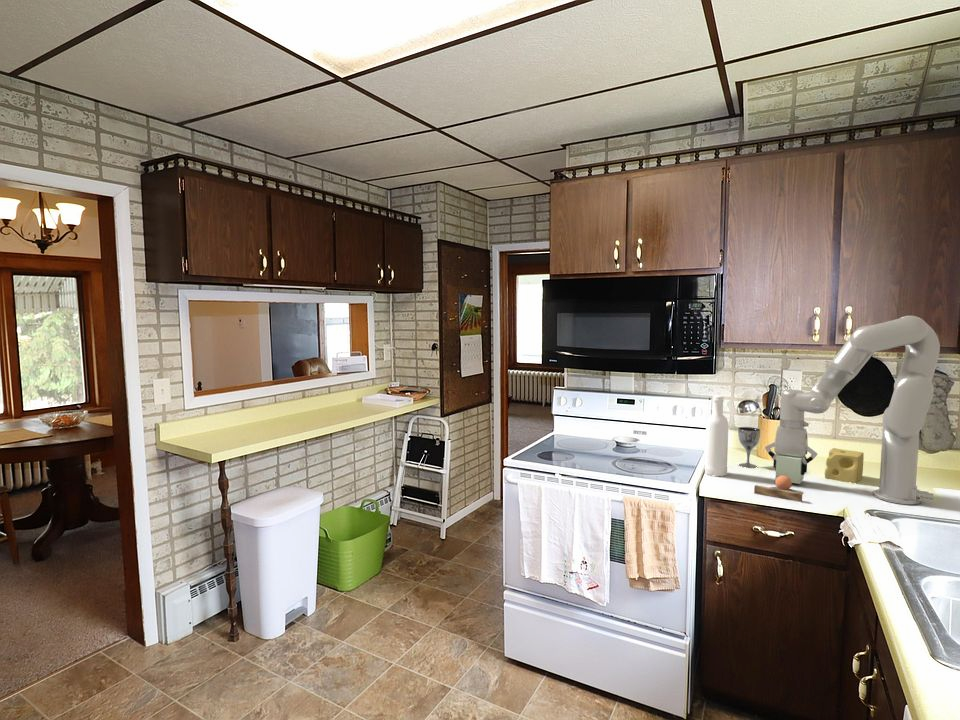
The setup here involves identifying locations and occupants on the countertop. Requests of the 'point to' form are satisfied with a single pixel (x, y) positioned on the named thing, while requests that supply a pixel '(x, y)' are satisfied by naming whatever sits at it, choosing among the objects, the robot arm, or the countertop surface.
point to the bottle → (716, 440)
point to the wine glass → (748, 442)
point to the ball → (783, 482)
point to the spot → (787, 490)
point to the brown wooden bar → (778, 493)
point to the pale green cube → (789, 468)
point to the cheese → (844, 465)
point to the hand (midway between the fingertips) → (789, 471)
